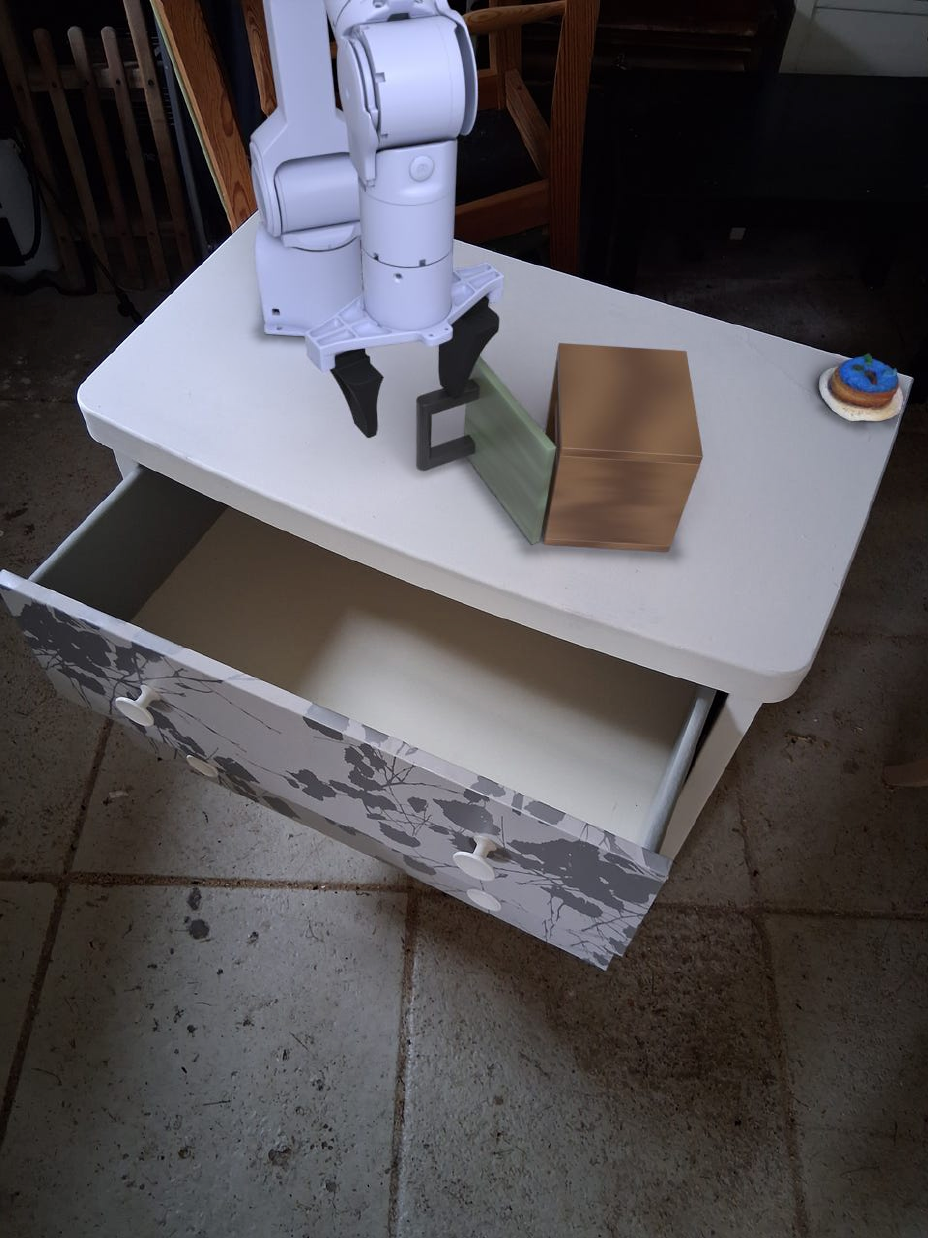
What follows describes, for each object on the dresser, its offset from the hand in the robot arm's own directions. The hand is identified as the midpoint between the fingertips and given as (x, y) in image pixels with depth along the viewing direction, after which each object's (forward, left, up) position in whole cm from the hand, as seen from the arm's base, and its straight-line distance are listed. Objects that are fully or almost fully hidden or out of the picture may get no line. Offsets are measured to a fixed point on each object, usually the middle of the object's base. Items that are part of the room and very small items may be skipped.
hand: (408, 409), depth 66 cm
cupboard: (+16, +1, -9) cm, 19 cm away
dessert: (+41, +14, -11) cm, 45 cm away
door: (+5, -1, -9) cm, 10 cm away
